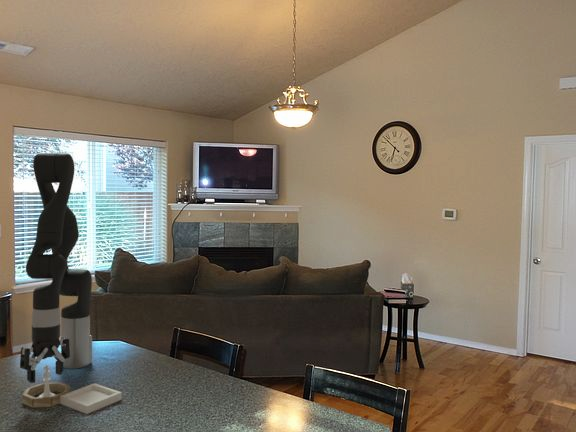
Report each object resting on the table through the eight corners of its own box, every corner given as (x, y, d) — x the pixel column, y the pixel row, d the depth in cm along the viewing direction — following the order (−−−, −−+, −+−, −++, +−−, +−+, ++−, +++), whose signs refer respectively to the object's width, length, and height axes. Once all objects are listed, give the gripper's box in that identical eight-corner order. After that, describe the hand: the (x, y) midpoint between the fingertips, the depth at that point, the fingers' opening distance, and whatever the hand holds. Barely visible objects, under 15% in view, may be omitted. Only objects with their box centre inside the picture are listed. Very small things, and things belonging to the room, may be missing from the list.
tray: (94, 390, 163) (94, 383, 163) (121, 399, 157) (121, 392, 157) (59, 403, 153) (59, 396, 153) (87, 414, 147) (87, 406, 147)
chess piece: (49, 402, 153) (49, 368, 153) (33, 401, 154) (33, 367, 154) (59, 396, 158) (59, 363, 157) (44, 394, 159) (44, 361, 158)
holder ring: (52, 387, 164) (52, 379, 164) (77, 396, 158) (77, 388, 158) (15, 400, 154) (15, 392, 154) (40, 410, 148) (40, 401, 148)
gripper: (60, 316, 163) (59, 369, 163) (14, 325, 151) (14, 382, 151) (75, 320, 159) (75, 374, 159) (30, 330, 147) (30, 388, 147)
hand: (45, 378), depth 155 cm, fingers open, 8 cm apart
